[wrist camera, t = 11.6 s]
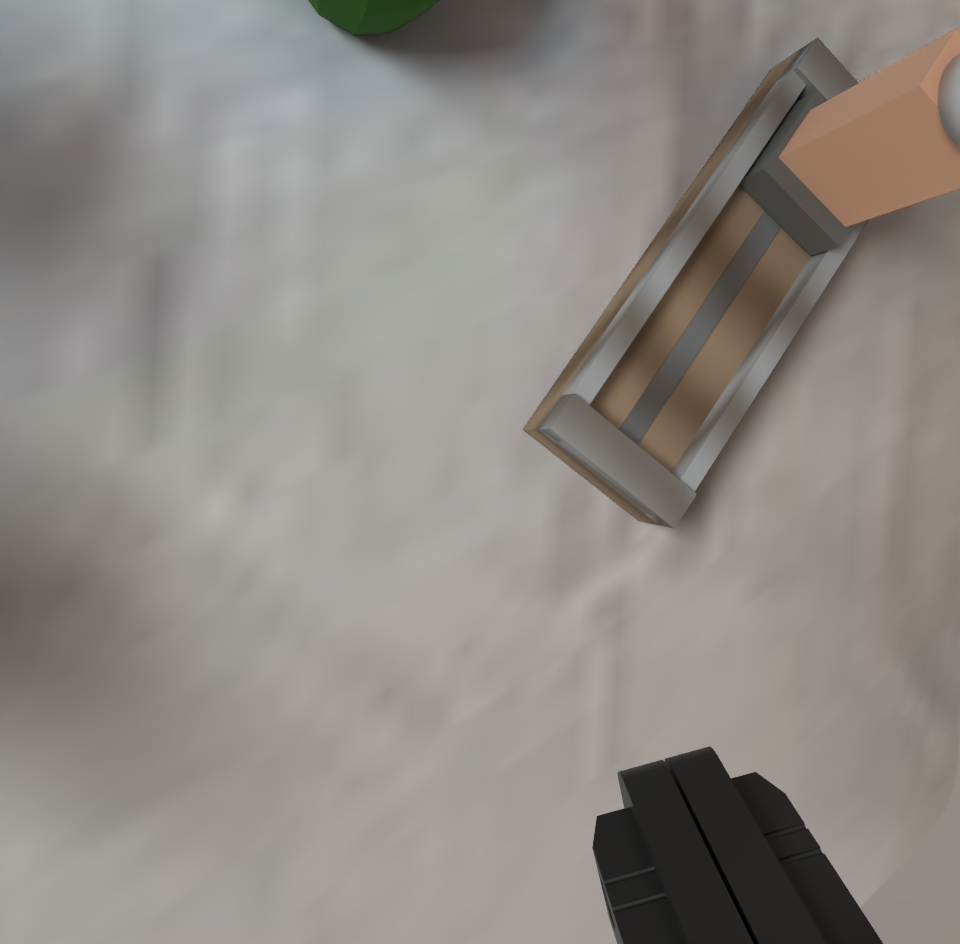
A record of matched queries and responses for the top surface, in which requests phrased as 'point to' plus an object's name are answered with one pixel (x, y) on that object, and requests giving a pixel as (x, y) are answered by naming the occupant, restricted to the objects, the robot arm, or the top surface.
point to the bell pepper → (371, 13)
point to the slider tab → (864, 149)
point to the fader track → (694, 322)
